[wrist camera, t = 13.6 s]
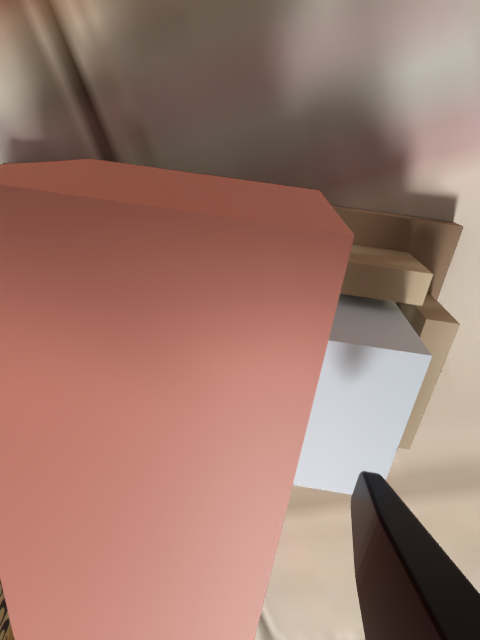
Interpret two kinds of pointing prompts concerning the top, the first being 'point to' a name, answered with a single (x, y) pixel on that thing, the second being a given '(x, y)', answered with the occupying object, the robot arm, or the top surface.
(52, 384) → the salmon pink slab
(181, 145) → the top surface
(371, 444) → the pale blue slab
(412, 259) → the jig
